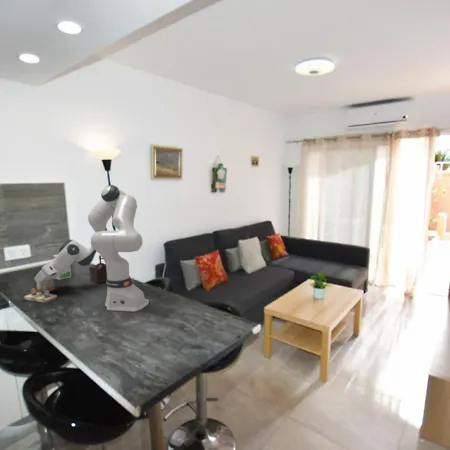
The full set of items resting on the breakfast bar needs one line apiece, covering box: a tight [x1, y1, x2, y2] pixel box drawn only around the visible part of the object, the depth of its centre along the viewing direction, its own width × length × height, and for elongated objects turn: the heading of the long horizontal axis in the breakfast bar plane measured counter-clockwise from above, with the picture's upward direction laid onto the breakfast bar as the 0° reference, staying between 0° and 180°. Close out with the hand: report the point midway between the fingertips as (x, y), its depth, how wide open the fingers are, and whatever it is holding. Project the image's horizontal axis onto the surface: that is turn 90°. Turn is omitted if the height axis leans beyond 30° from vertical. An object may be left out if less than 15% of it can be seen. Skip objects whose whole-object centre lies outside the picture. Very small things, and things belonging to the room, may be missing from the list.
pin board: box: [23, 287, 58, 304], centre depth 161 cm, size 15×7×5 cm, turn 74°
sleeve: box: [35, 278, 55, 293], centre depth 172 cm, size 6×6×9 cm
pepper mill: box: [89, 254, 107, 284], centre depth 193 cm, size 16×11×18 cm
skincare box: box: [52, 254, 72, 281], centre depth 195 cm, size 8×7×16 cm
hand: (46, 281), depth 172 cm, fingers open, 8 cm apart
